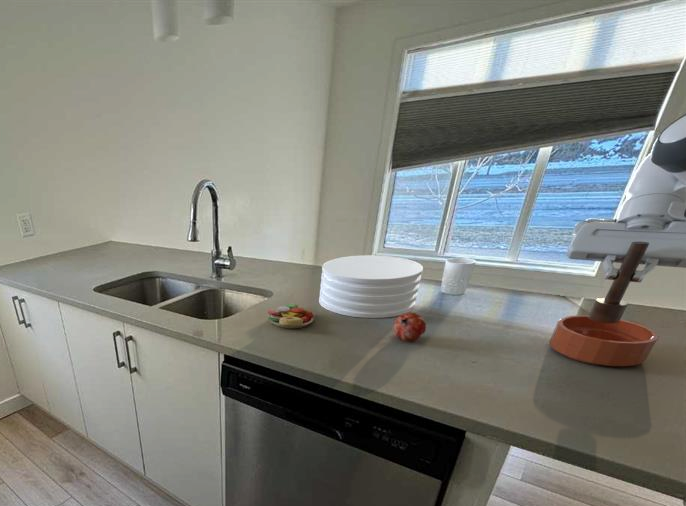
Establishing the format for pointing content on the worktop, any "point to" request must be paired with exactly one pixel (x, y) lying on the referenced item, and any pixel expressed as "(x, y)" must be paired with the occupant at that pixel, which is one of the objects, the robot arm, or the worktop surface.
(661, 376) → the worktop surface
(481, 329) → the worktop surface
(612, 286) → the muddler
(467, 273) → the white cup
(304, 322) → the toy food set
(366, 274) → the plate stack
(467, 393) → the worktop surface
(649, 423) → the worktop surface
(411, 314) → the pomegranate
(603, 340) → the bowl
